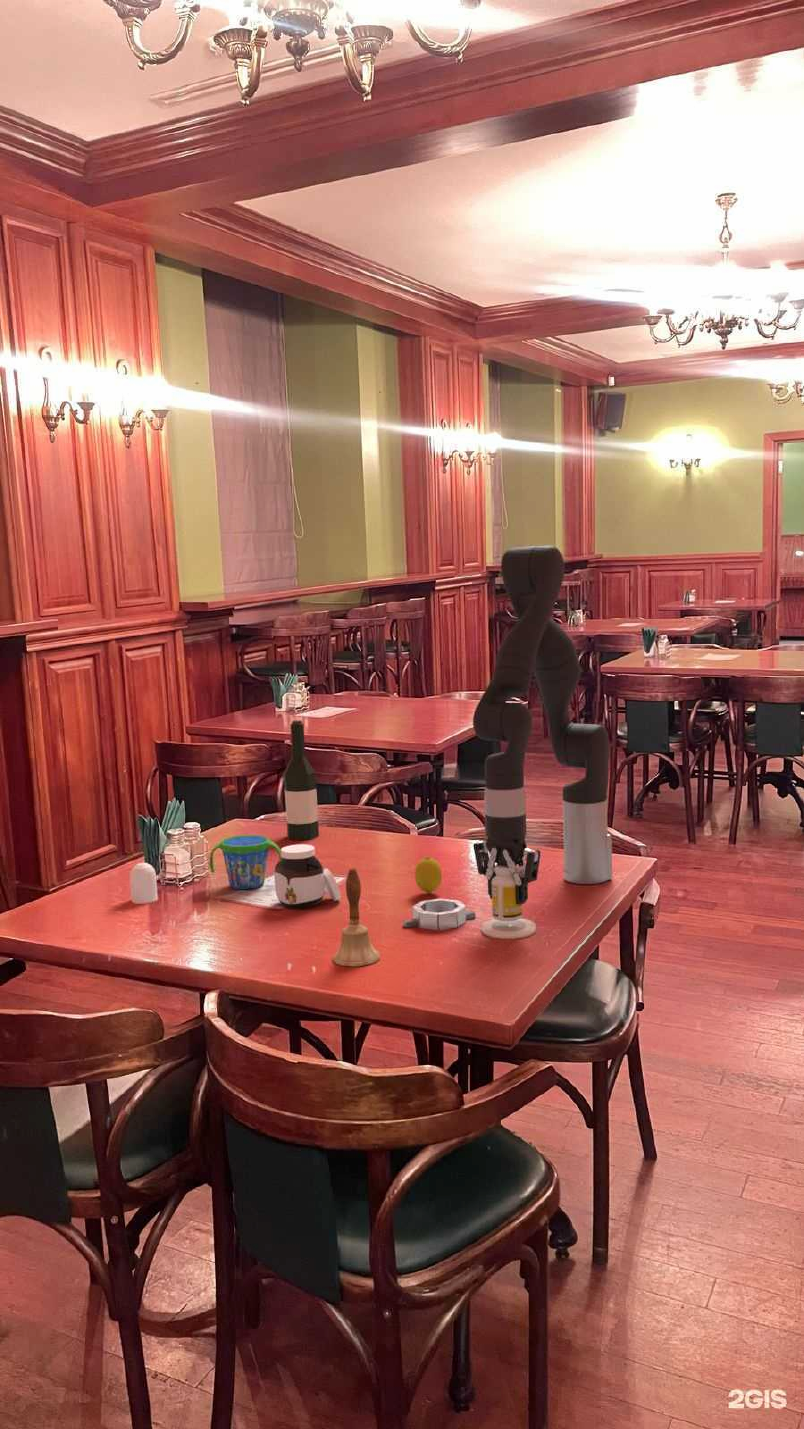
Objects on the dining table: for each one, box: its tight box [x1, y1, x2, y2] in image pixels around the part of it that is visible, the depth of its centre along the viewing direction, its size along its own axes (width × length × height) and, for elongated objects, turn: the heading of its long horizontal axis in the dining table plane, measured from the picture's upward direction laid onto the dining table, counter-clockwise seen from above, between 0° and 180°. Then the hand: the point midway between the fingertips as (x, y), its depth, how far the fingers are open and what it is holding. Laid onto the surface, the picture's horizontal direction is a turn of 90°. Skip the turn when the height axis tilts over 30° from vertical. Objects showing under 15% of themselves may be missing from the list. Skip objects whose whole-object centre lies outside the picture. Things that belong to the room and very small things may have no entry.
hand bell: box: [332, 868, 381, 968], centre depth 192 cm, size 8×8×16 cm
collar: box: [402, 898, 476, 931], centre depth 211 cm, size 14×9×3 cm
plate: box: [481, 917, 537, 940], centre depth 205 cm, size 10×10×1 cm
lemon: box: [414, 856, 443, 895], centre depth 229 cm, size 6×6×8 cm
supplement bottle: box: [491, 865, 523, 921], centre depth 204 cm, size 5×5×10 cm
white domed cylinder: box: [129, 862, 159, 905], centre depth 234 cm, size 5×5×8 cm
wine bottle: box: [283, 719, 320, 841], centre depth 283 cm, size 8×8×30 cm
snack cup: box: [209, 834, 282, 890], centre depth 241 cm, size 16×10×10 cm
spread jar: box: [274, 843, 342, 910], centre depth 227 cm, size 12×11×12 cm
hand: (507, 900), depth 204 cm, fingers closed on supplement bottle, 5 cm apart
